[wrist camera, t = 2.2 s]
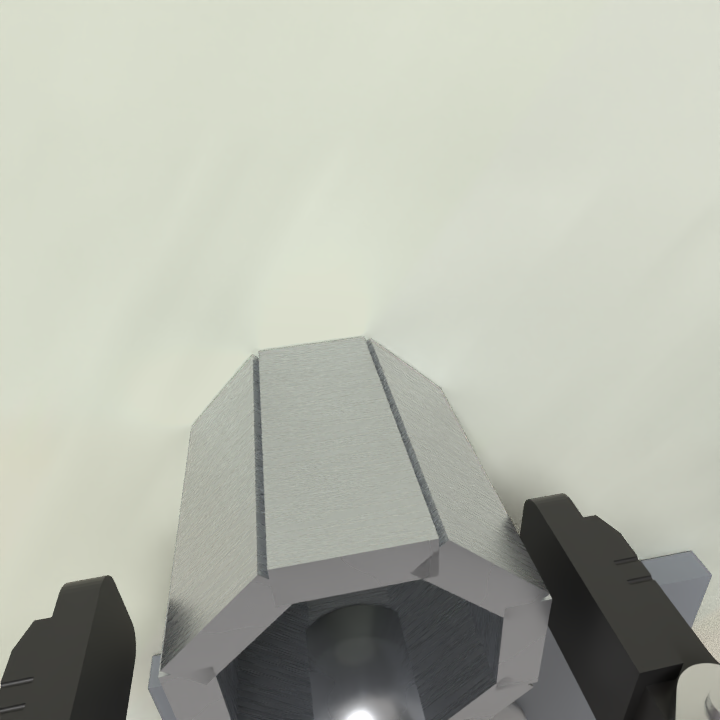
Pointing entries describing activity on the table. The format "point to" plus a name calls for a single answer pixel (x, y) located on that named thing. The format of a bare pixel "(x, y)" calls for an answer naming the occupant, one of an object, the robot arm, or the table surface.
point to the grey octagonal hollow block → (344, 552)
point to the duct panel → (557, 650)
